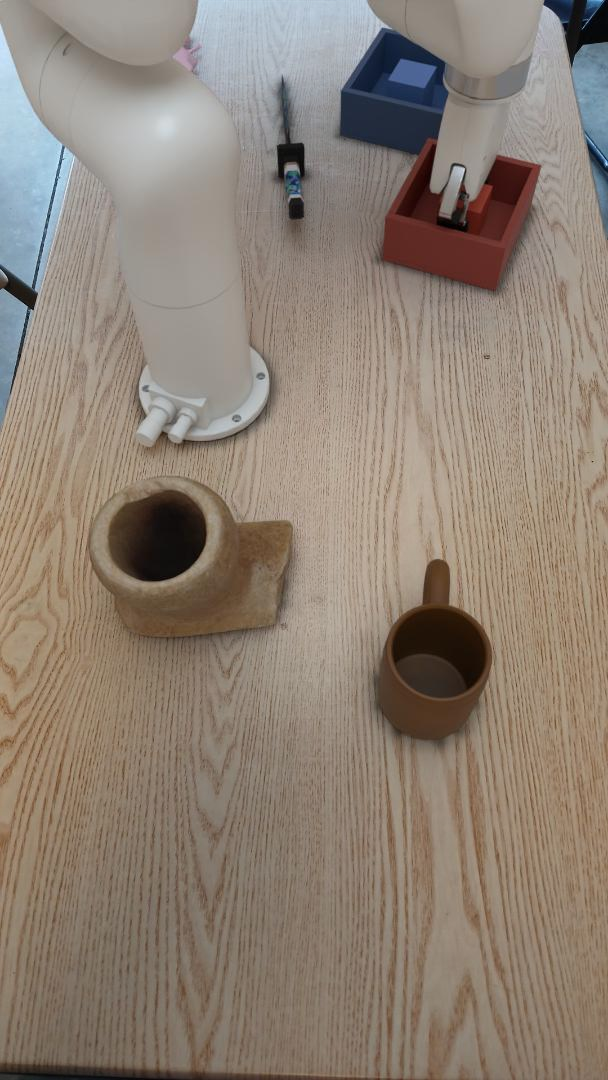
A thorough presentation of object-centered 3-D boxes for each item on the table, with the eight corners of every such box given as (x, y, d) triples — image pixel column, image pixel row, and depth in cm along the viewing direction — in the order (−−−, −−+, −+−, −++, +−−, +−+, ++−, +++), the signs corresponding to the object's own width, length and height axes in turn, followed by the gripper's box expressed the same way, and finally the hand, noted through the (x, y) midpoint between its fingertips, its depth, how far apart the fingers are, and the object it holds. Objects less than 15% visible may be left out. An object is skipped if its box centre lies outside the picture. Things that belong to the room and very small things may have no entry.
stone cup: (113, 670, 67) (62, 588, 54) (120, 541, 73) (76, 440, 60) (300, 658, 67) (295, 574, 54) (293, 531, 73) (286, 427, 60)
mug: (381, 597, 70) (389, 542, 61) (472, 604, 69) (492, 550, 61) (373, 738, 64) (381, 698, 56) (473, 747, 63) (496, 708, 55)
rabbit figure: (156, 53, 111) (153, 104, 102) (148, 3, 106) (144, 51, 97) (202, 50, 111) (204, 100, 102) (196, -1, 106) (197, 47, 97)
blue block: (420, 124, 99) (424, 88, 96) (385, 115, 100) (387, 79, 96) (432, 102, 101) (437, 66, 98) (397, 94, 102) (400, 58, 98)
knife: (305, 241, 89) (305, 203, 85) (277, 241, 89) (275, 203, 85) (303, 97, 107) (302, 60, 103) (279, 97, 107) (278, 61, 103)
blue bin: (440, 159, 97) (446, 115, 92) (339, 135, 100) (340, 90, 95) (474, 93, 103) (482, 48, 98) (379, 72, 106) (382, 26, 101)
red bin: (495, 291, 87) (505, 248, 82) (381, 259, 89) (385, 216, 84) (530, 209, 93) (541, 164, 88) (422, 181, 95) (428, 137, 90)
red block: (473, 247, 89) (480, 213, 85) (433, 237, 90) (438, 202, 86) (485, 221, 91) (493, 185, 87) (446, 211, 92) (451, 175, 88)
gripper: (475, 6, 79) (450, 171, 95) (415, 111, 72) (399, 271, 87) (552, 22, 78) (514, 187, 93) (500, 131, 70) (467, 291, 86)
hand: (458, 226), depth 90 cm, fingers open, 6 cm apart
